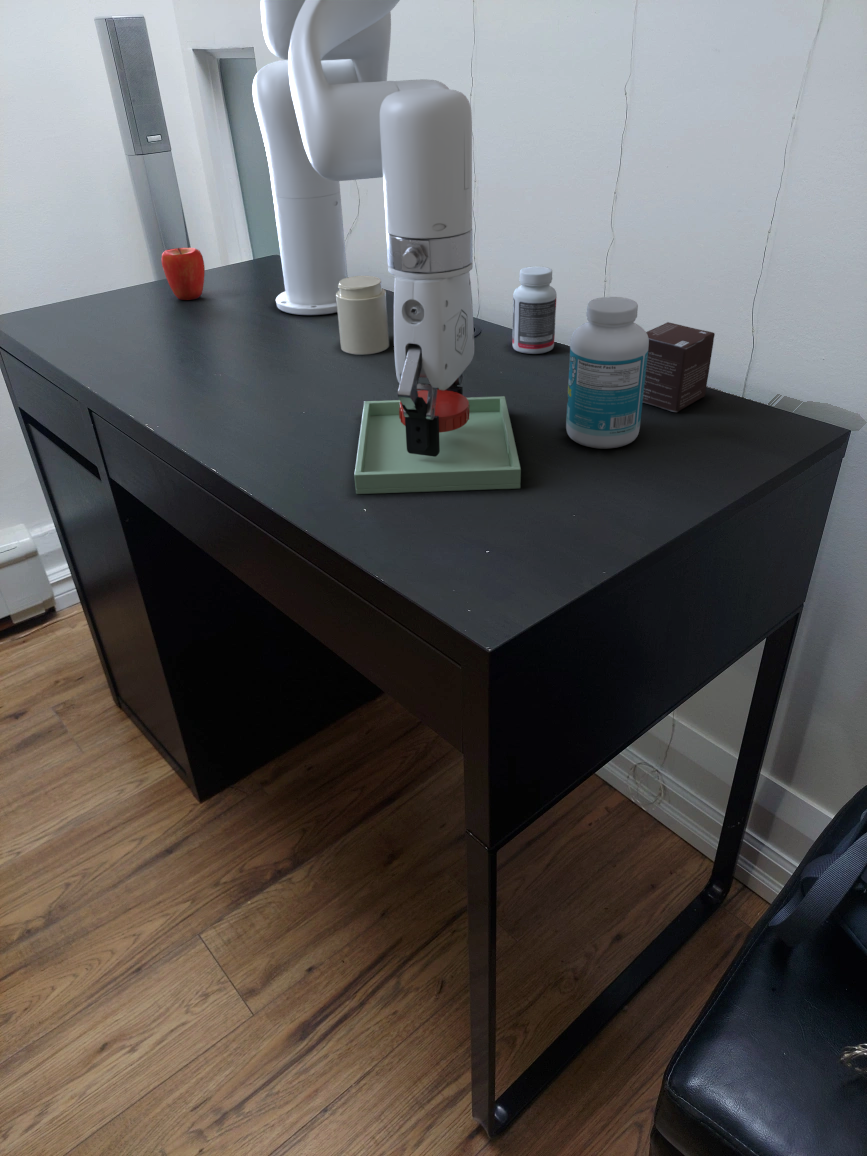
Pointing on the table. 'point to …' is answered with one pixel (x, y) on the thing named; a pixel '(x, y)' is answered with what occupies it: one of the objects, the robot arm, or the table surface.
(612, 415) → the pill bottle
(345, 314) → the jar
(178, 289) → the apple
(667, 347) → the box
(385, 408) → the tray
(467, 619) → the table surface
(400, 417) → the cap
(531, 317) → the pill bottle
